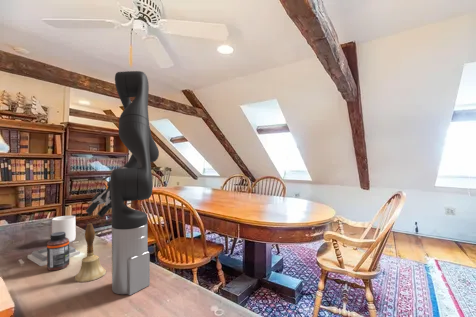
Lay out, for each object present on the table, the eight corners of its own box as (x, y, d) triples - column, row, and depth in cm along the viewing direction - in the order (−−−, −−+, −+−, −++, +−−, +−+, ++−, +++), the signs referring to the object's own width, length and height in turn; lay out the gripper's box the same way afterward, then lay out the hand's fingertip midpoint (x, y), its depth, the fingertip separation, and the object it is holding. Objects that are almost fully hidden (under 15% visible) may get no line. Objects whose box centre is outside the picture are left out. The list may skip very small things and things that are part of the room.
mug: (45, 240, 105) (45, 217, 105) (66, 235, 112) (66, 213, 112) (57, 246, 99) (56, 221, 99) (79, 240, 106) (79, 216, 106)
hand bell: (69, 283, 69) (68, 228, 69) (81, 270, 77) (81, 221, 77) (100, 280, 71) (100, 226, 71) (109, 268, 79) (109, 219, 79)
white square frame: (79, 254, 90) (79, 248, 90) (40, 266, 80) (40, 259, 80) (65, 247, 97) (65, 242, 97) (27, 258, 87) (27, 252, 87)
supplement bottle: (50, 265, 81) (49, 231, 81) (71, 261, 84) (70, 229, 84) (44, 272, 76) (44, 237, 76) (67, 269, 78) (67, 234, 78)
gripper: (106, 174, 100) (76, 206, 91) (126, 175, 92) (95, 210, 83) (119, 185, 105) (91, 217, 95) (138, 187, 97) (111, 222, 87)
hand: (93, 214), depth 89 cm, fingers open, 8 cm apart
